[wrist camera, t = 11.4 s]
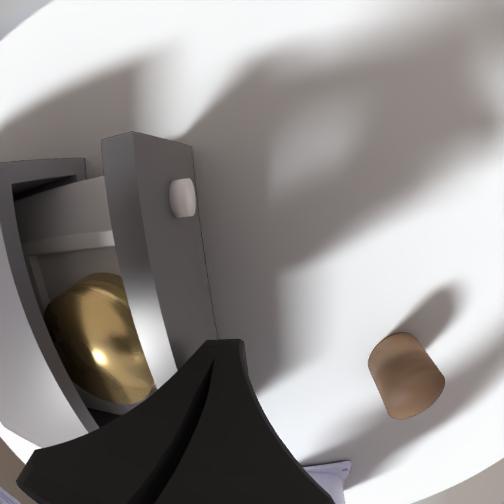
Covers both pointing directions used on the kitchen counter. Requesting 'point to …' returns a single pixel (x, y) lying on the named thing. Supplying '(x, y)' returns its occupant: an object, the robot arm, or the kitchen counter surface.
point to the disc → (99, 339)
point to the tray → (128, 247)
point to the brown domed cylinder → (405, 376)
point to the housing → (34, 323)
